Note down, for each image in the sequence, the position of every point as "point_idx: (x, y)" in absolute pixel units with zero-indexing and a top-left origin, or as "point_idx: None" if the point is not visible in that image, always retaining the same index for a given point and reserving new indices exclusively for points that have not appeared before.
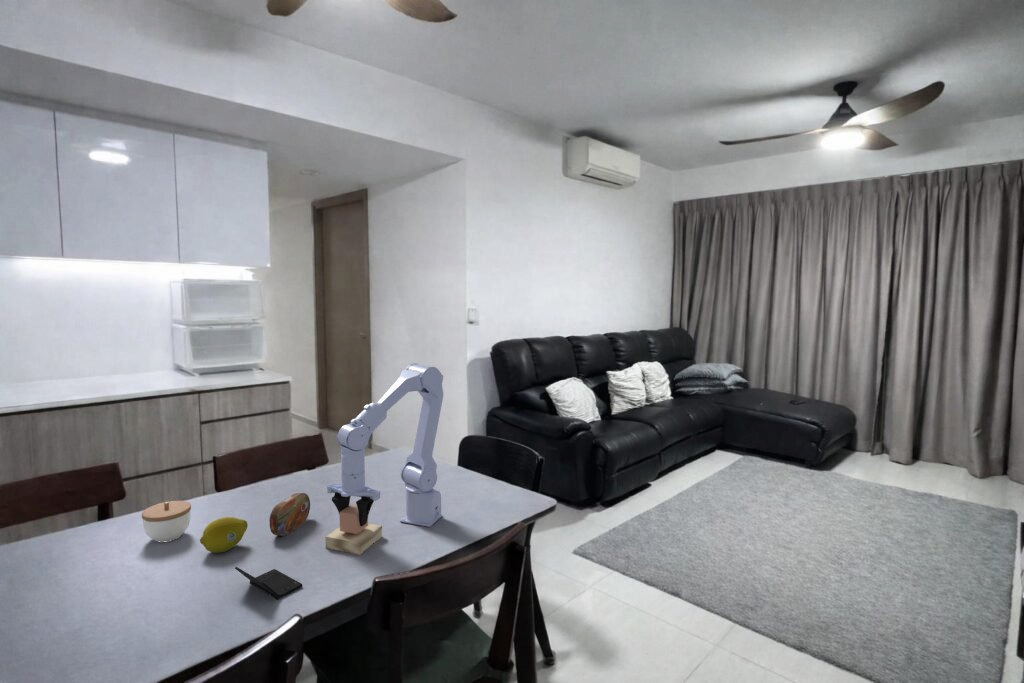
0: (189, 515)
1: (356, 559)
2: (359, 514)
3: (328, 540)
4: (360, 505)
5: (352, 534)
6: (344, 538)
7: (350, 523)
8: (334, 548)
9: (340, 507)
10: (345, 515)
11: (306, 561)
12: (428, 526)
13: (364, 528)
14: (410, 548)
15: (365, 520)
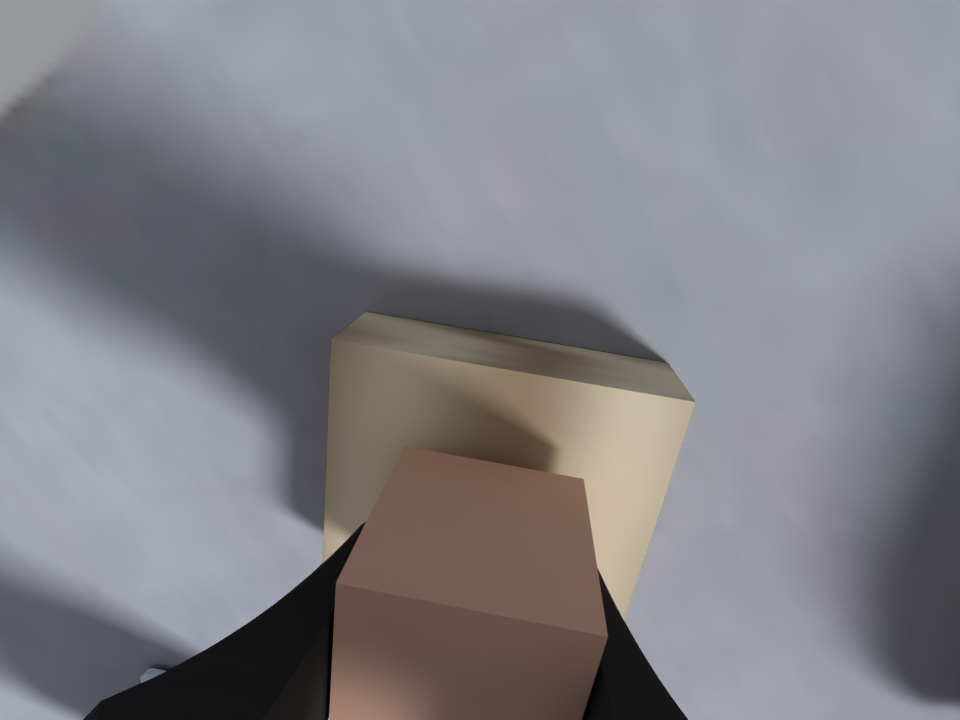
0: None
1: (353, 243)
2: (324, 608)
3: (654, 382)
4: (170, 714)
5: None
6: (500, 393)
7: (453, 514)
8: (587, 352)
9: (615, 715)
10: (512, 591)
11: (741, 127)
12: (153, 668)
13: None
14: (104, 440)
15: None
